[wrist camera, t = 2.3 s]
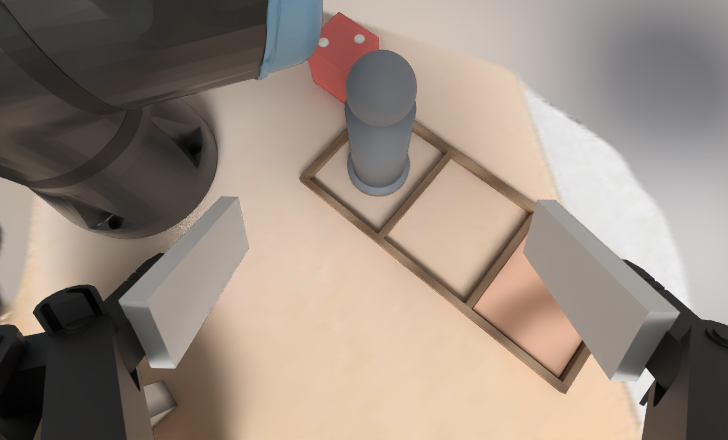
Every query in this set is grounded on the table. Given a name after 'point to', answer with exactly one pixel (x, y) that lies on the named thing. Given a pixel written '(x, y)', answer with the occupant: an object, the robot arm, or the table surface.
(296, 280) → the table surface
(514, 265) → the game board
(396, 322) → the table surface
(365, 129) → the pawn
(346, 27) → the red die
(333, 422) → the table surface
